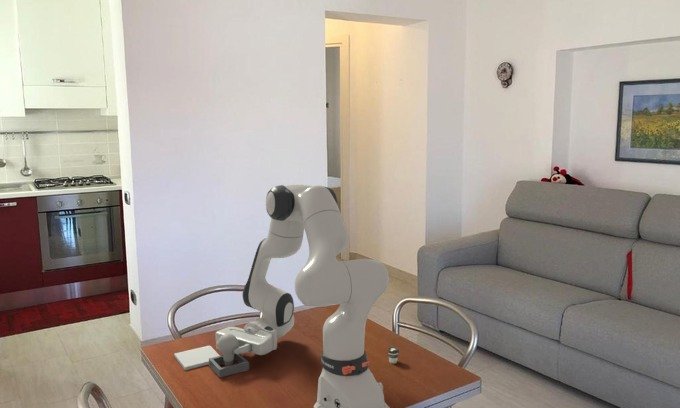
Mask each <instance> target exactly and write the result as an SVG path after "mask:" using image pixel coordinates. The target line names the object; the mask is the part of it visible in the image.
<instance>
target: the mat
mask: <svg viewBox="0 0 680 408" xmlns="http://www.w3.org/2000/svg"><path fill="white" fill-rule="evenodd" d="M217 356H221V355H220V354H219V353H218V352H217V351H216V350H215V349H214V348H213V347H212V346H211V345H206V346H201V347H196V348H192V349H188V350H184V351H180V352H175V353H173V357H174V358H175V360H176V361H177V362H178V363H179V365H180V366H181V368H182V369H183V370H184V371H188V370H191V369H196V368H199V367H204V366H207V365H208V366H209V358H213V357H217Z"/></svg>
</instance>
